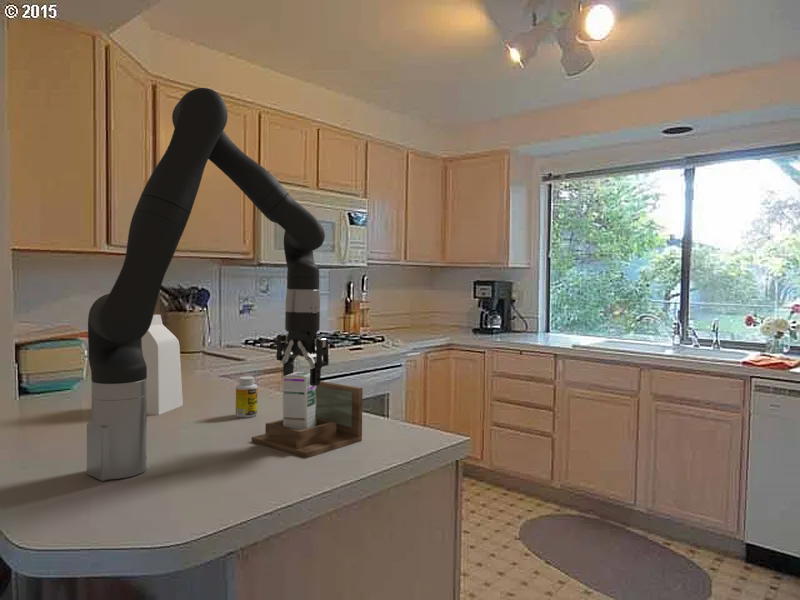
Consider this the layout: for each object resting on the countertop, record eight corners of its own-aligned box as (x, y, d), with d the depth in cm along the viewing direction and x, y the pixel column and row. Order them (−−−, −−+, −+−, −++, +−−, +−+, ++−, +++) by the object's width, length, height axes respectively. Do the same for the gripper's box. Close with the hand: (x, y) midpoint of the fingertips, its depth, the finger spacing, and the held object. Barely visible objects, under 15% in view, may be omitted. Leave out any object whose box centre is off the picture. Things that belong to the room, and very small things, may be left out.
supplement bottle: (248, 419, 148) (248, 379, 148) (231, 416, 151) (231, 378, 150) (261, 414, 154) (261, 376, 153) (244, 412, 156) (245, 375, 155)
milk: (158, 414, 152) (159, 316, 151) (119, 412, 154) (119, 315, 153) (182, 405, 164) (183, 314, 163) (145, 403, 165) (146, 313, 165)
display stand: (307, 457, 117) (307, 399, 116) (251, 441, 128) (252, 388, 127) (361, 440, 130) (362, 388, 130) (307, 427, 141) (307, 378, 141)
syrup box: (306, 443, 124) (307, 376, 123) (281, 440, 125) (282, 374, 125) (317, 436, 129) (317, 372, 129) (292, 434, 131) (293, 370, 130)
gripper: (268, 308, 128) (267, 381, 128) (312, 311, 119) (311, 389, 120) (293, 308, 134) (292, 377, 134) (337, 311, 125) (336, 384, 125)
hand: (301, 382), depth 127 cm, fingers open, 8 cm apart
